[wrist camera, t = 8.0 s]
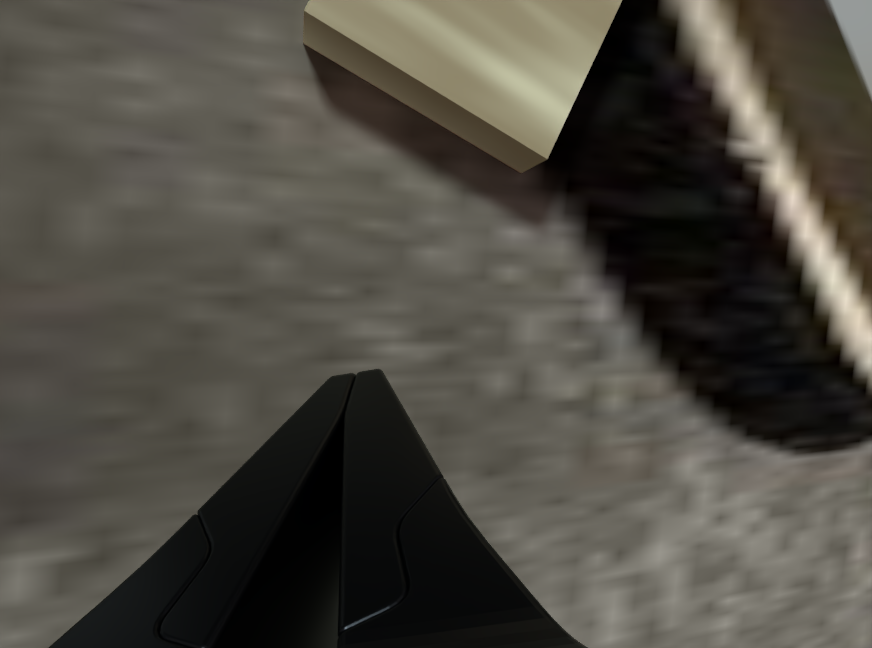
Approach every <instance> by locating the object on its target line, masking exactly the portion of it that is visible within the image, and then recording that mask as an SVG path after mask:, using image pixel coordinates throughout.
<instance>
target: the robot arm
mask: <svg viewBox="0 0 872 648" xmlns="http://www.w3.org/2000/svg"><path fill="white" fill-rule="evenodd" d="M49 648H588V647H586V646H584V645H582V644H581V643H580V642H578V641H577V640H576V639H574V638H573V637H572V636H571V635H569V634H568V633H567V632H566V631H565V630H564V629H563V628H562V627H561V626H560V625H559V624H558V623H557V622H556V621H555V620H554V619H553V618H552V617H551V616H550V615H549V614H548V612H547V611H546V610H545V609H544V608H543V607H542V606H541V605H540V603H539V602H538V601H537V600H536V599H535V597H534V596H533V595H532V594H531V593H530V591H529V590H528V589H527V588H526V587H525V586H524V584H523V583H522V582H521V581H520V580H519V578H518V577H517V576H516V575H515V574H514V573H513V571H512V570H511V569H510V568H509V567H508V565H507V564H506V563H505V562H504V561H503V560H502V558H501V557H500V556H499V555H498V554H497V552H496V551H495V550H494V549H493V548H492V546H491V545H490V544H489V543H488V542H487V540H486V539H485V538H484V537H483V535H482V534H481V533H480V531H479V530H478V529H477V527H476V526H475V525H474V524H473V522H472V521H471V520H470V518H469V517H468V515H467V514H466V512H465V511H464V509H463V508H462V506H461V505H460V503H459V501H458V500H457V498H456V497H455V495H454V494H453V492H452V490H451V488H450V487H449V485H448V483H447V482H446V480H445V479H444V478H443V475H442V474H441V472H440V470H439V468H438V467H437V465H436V463H435V461H434V460H433V458H432V456H431V454H430V453H429V451H428V449H427V448H426V446H425V444H424V442H423V441H422V439H421V437H420V435H419V434H418V432H417V430H416V428H415V427H414V425H413V423H412V422H411V420H410V418H409V416H408V415H407V413H406V411H405V409H404V408H403V406H402V404H401V403H400V401H399V399H398V397H397V396H396V394H395V392H394V390H393V389H392V387H391V385H390V383H389V382H388V380H387V378H386V377H385V375H384V373H383V371H382V370H380V369H374V370H368V371H362V372H358V373H357V375H355V374H353V373H349V374H343V375H336V376H332V377H330V378H329V379H328V380H327V381H326V382H325V383H324V384H323V385H322V386H321V387H320V388H319V389H318V390H317V391H316V392H315V393H314V394H313V395H312V396H311V397H310V398H309V399H308V400H307V401H306V402H305V403H304V404H303V405H302V406H301V407H300V408H299V409H298V410H297V411H296V412H295V413H294V414H293V415H292V416H291V417H290V418H289V419H288V420H287V421H286V422H285V423H284V424H283V425H282V426H281V427H280V428H279V429H278V430H277V431H276V432H275V433H274V434H273V435H272V436H271V437H270V438H269V439H268V440H267V441H266V442H265V443H264V444H263V445H262V446H261V447H260V448H259V449H258V450H257V452H256V453H255V454H254V455H253V456H252V457H251V458H250V459H249V460H248V461H247V462H246V463H245V464H244V465H243V466H242V467H241V468H240V469H239V470H238V471H237V472H236V473H235V474H234V475H233V476H232V477H231V478H230V479H229V480H228V481H227V482H226V483H225V484H224V485H223V486H222V487H221V488H220V489H219V490H218V491H217V492H216V493H215V494H214V495H213V496H212V497H211V498H210V499H209V500H208V501H207V502H206V503H205V504H204V505H203V506H202V507H201V508H200V509H199V510H198V515H196V514H195V515H193V516H192V517H191V518H190V519H189V520H188V521H187V522H186V523H185V524H184V525H183V526H182V527H181V528H180V529H179V530H178V531H177V532H176V533H175V534H174V535H173V536H172V537H171V538H170V539H169V540H168V541H167V542H166V543H165V544H164V545H163V546H162V547H160V548H159V549H158V550H157V551H156V552H155V553H154V554H153V555H152V556H151V557H150V558H149V559H148V560H147V561H146V562H145V563H144V564H143V565H142V566H141V567H139V568H138V569H137V570H136V571H135V572H134V573H133V574H132V575H131V576H129V577H128V578H127V579H126V580H125V581H124V582H123V583H122V584H121V585H119V586H118V587H117V588H116V589H115V590H114V591H113V592H112V593H111V594H109V595H108V596H107V597H106V598H105V599H104V600H103V601H101V602H100V603H99V604H98V605H97V606H96V607H95V608H93V609H92V610H91V611H90V612H89V613H88V614H87V615H85V616H84V617H83V618H82V619H81V620H80V621H79V622H77V623H76V624H75V625H74V626H73V627H72V628H71V629H69V630H68V631H67V632H66V633H65V634H64V635H63V636H61V637H60V638H59V639H58V640H57V641H56V642H55V643H53V644H52V645H51V646H50V647H49Z"/></svg>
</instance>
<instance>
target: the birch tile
mask: <svg viewBox="0 0 872 648" xmlns="http://www.w3.org/2000/svg"><path fill="white" fill-rule="evenodd" d="M621 2H622V0H309V2H308V4H307V6H306V8H305V10H304V30H303V44H305V45H306V46H308V47H310V48H311V49H313V50H315V51H316V52H318V53H320V54H321V55H323V56H325V57H326V58H328V59H330V60H331V61H333V62H335V63H336V64H338V65H340V66H341V67H343V68H345V69H347V70H348V71H350V72H352V73H353V74H355V75H357V76H358V77H360V78H362V79H363V80H365V81H367V82H368V83H370V84H372V85H373V86H375V87H377V88H378V89H380V90H382V91H383V92H385V93H387V94H388V95H390V96H392V97H393V98H395V99H397V100H398V101H400V102H402V103H404V104H405V105H407V106H409V107H410V108H412V109H414V110H415V111H417V112H419V113H420V114H422V115H424V116H425V117H427V118H429V119H430V120H432V121H434V122H435V123H437V124H439V125H440V126H442V127H444V128H445V129H447V130H449V131H450V132H452V133H454V134H455V135H457V136H459V137H461V138H462V139H464V140H466V141H467V142H469V143H471V144H472V145H474V146H476V147H477V148H479V149H481V150H482V151H484V152H486V153H487V154H489V155H491V156H492V157H494V158H496V159H497V160H499V161H501V162H502V163H504V164H506V165H507V166H509V167H511V168H512V169H514V170H516V171H518V172H519V173H523V172H525V171H527V170H528V169H530V168H532V167H534V166H536V165H538V164H539V163H541V162H543V161H545V160H547V159H548V157H549V155H550V153H551V151H552V148H553V146H554V144H555V142H556V140H557V138H558V136H559V134H560V131H561V129H562V127H563V125H564V123H565V121H566V119H567V117H568V114H569V112H570V110H571V108H572V106H573V104H574V102H575V100H576V97H577V95H578V93H579V91H580V89H581V87H582V85H583V83H584V80H585V78H586V76H587V74H588V72H589V70H590V68H591V66H592V63H593V61H594V59H595V57H596V55H597V53H598V51H599V49H600V47H601V44H602V42H603V40H604V38H605V36H606V34H607V32H608V30H609V27H610V25H611V23H612V21H613V19H614V17H615V15H616V13H617V10H618V8H619V6H620V4H621Z"/></svg>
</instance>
